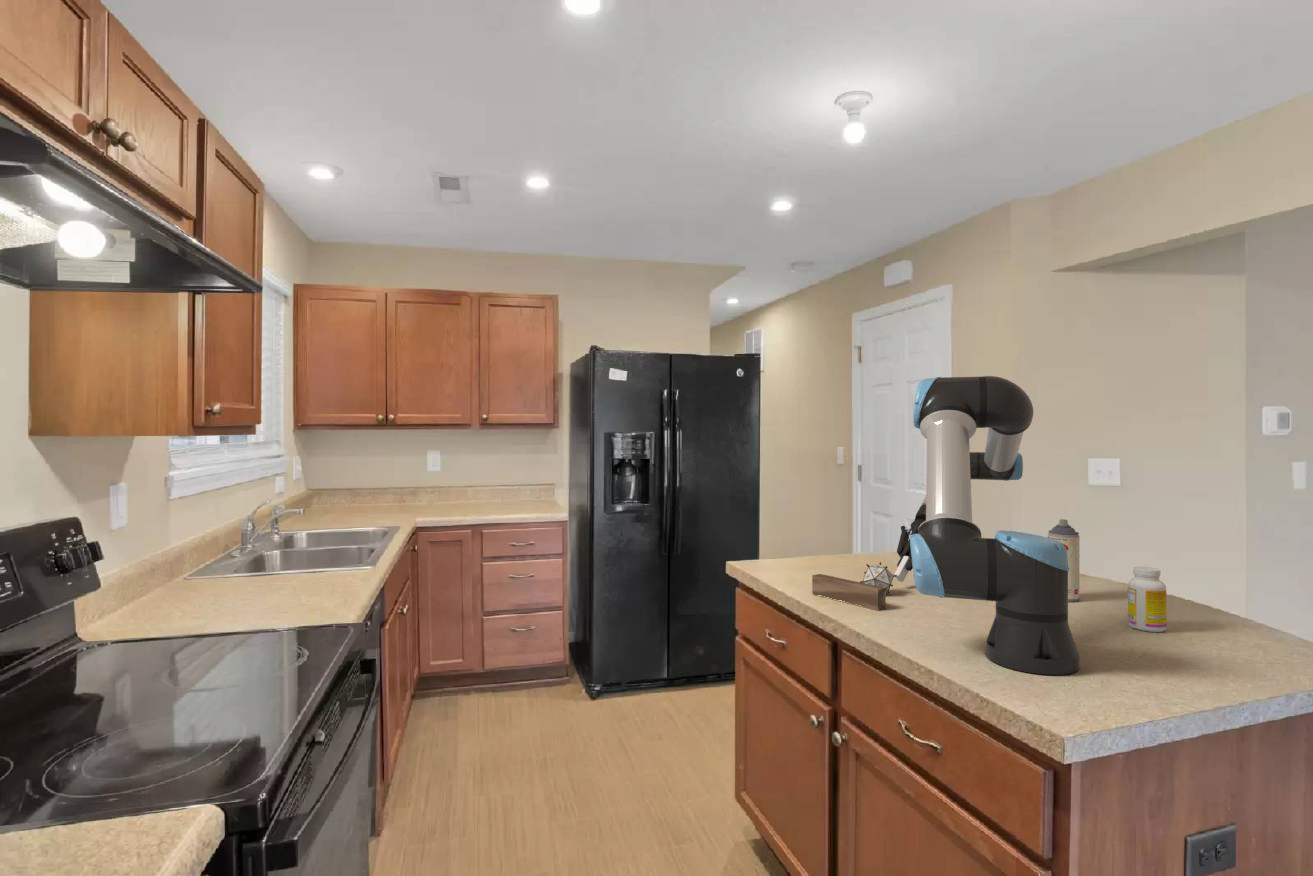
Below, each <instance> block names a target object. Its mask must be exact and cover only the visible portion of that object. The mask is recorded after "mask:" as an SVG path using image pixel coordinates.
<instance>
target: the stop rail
mask: <svg viewBox="0 0 1313 876" xmlns="http://www.w3.org/2000/svg"><path fill="white" fill-rule="evenodd" d="M811 581H812V586H811V587H812V589H811V590H812V595H813V594H815V595H814V596H817V595H822V596H825V597H829V598H832V599H831V600H833V599H836V600H835V601H837V600H842V601H845V602H849V603H851V604H850V605H853V604H857V605H861V606H863V607H862V608H865V607H866V609H869V608H870V609H869V610H873V609H875V610H874V611H877V610H879V611H882V610H881V609H883V610H885V609H887V607H886V604H887V603H886V602H887V601H886V600H887V599H886V596H887V595H886V594H887V592H886V588H884V587H879V586H874V585H870V584H865V583H860V581H855V580H850V579H846V578H842V577H837V576H832V575H828V574H822V573H818V574H817V573H816V574H812V580H811ZM825 597H824V598H825ZM829 598H828V599H829ZM845 602H844V603H845ZM849 603H848V604H849ZM857 605H856V606H857ZM861 606H860V607H861Z"/></svg>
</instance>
